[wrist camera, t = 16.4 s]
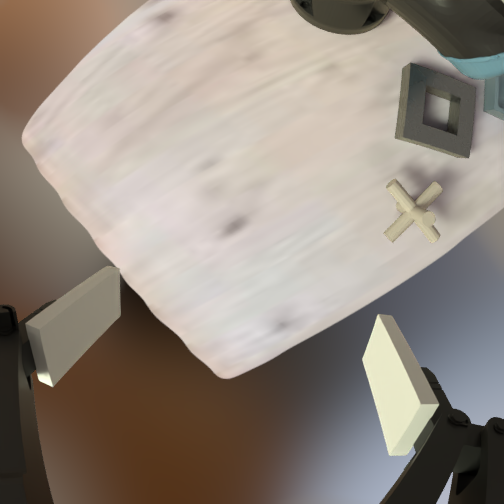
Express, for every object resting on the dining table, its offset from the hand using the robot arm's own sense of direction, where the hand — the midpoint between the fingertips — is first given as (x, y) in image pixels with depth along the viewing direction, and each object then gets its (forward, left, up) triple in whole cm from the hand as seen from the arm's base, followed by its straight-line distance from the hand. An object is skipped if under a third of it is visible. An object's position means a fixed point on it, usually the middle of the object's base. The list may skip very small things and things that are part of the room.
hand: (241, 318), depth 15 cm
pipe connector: (-4, +18, -32) cm, 37 cm away
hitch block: (-19, +21, -32) cm, 43 cm away
